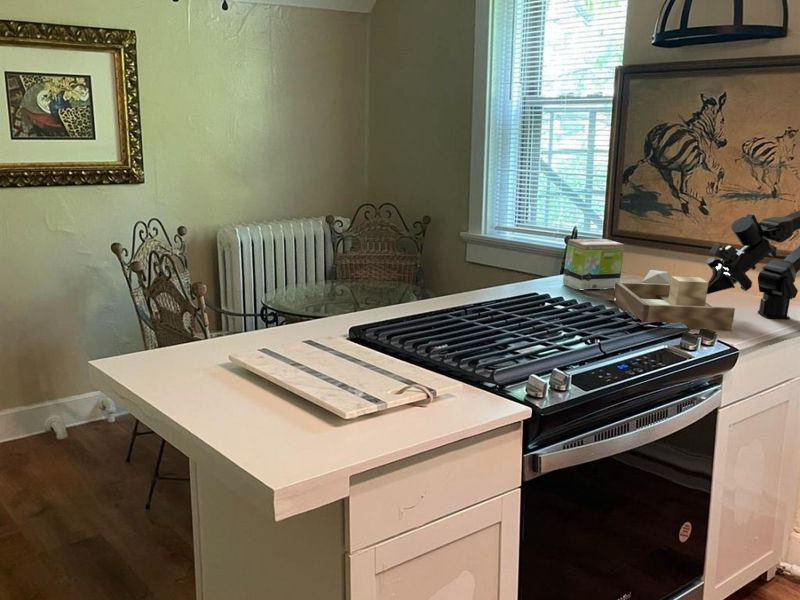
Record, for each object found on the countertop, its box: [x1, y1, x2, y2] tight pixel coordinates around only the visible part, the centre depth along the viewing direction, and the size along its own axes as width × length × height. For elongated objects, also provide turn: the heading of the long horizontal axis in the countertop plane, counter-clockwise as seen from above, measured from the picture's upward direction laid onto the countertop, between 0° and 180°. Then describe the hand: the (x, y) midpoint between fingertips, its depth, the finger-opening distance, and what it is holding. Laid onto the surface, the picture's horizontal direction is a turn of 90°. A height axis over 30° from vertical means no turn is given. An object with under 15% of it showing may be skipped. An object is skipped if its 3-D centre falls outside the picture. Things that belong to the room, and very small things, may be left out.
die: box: [641, 269, 671, 284], centre depth 236 cm, size 8×9×10 cm
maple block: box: [668, 275, 709, 306], centre depth 215 cm, size 8×6×8 cm
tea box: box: [562, 238, 626, 290], centre depth 246 cm, size 15×10×15 cm, turn 115°
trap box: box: [612, 281, 736, 332], centre depth 216 cm, size 24×26×6 cm
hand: (703, 293), depth 215 cm, fingers closed
